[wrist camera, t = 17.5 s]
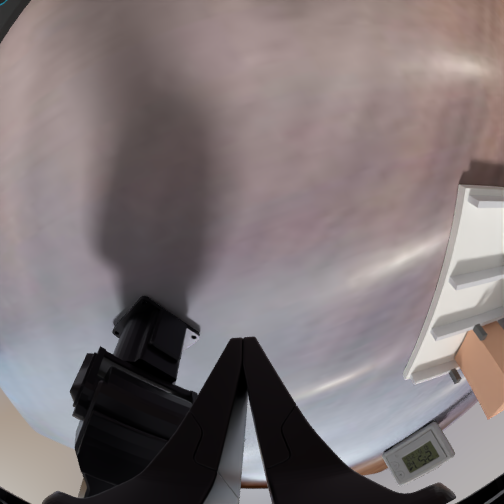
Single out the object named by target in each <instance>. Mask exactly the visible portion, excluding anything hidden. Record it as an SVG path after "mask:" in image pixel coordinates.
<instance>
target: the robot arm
mask: <svg viewBox="0 0 504 504" xmlns="http://www.w3.org/2000/svg"><path fill="white" fill-rule="evenodd" d="M143 301H145V302H146V303H145V302H143ZM112 332H113V334H114V335H115V336H117V337H118V338H120V339H119V341H118V343H117V346H116V348H115V351H114V353H113V354H111V353H109V352H107V351H106V349H104V348H102V347H101V346H100V348H99V350H98V352H97V353H94V354H90V353H87V355H86V357H85V359H84V361H83V364H82V366H81V368H80V370H79V372H78V374H77V377H76V379H75V381H74V383H73V385H72V388H71V390H70V394H71V396H72V399H73V401H74V403H73V407H75V408H74V411H73V414H72V416H73V417H75V418H77V419H80V422H79V425H78V428H77V431H76V438H75V451H76V455H77V458H78V462H79V466H80V470H81V472H82V474H83V477H84V478H83V481H82V485H81V488H80V492H79V495H78V498H76V497H73V496H70V495H68V494H65V493H63V492H60V491H56V492H54V493H53V494H51V495H50V496H48V497H47V498H45V500H44V501H43V502H42V504H239V498H240V497H239V496H240V486H241V475H242V463H243V451H244V439H245V427H246V414H247V402H248V397H249V402H250V407H251V412H252V416H253V421H254V426H255V431H256V435H257V440H258V444H259V449H260V454H261V458H262V462H263V467H264V471H265V476H266V480H267V484H268V488H269V492H270V497H271V500H272V504H446V503H448V502H450V501H452V500H454V499H455V498H456V496H455V494H454V493H453V492H452V491H451V490H450V489H449V488H447V487H446V486H444V485H443V484H442V483H436V484H433V485H430V486H428V487H426V488H423V489H421V490H419V491H416V492H413V493H407V494H403V493H397V492H395V491H392V490H390V489H388V488H386V487H383V486H382V485H380V484H378V483H376V482H374V481H372V480H370V479H368V478H366V477H364V476H362V475H360V474H359V473H357V472H355V471H354V470H352V469H351V468H350V467H348V466H347V465H346V464H345V463H344V462H343V461H342V460H341V459H340V458H339V457H338V456H337V455H336V454H335V453H334V452H333V451H332V450H331V449H330V447H329V446H328V445H327V444H326V443H325V442H324V441H323V440H322V439H321V438H320V436H319V435H318V434H317V433H316V432H315V430H314V429H313V428H312V427H311V426H310V424H309V423H308V421H307V420H306V419H305V417H304V416H303V414H302V413H301V411H300V409H299V408H298V406H296V403H295V402H294V400H293V399H292V397H291V395H290V394H289V392H288V390H287V389H286V387H285V386H284V384H283V382H282V381H281V379H280V377H279V376H278V374H277V372H276V371H275V369H274V368H273V366H272V364H271V363H270V361H269V359H268V358H267V356H266V354H265V353H264V351H263V349H262V347H261V346H260V344H259V342H258V341H257V339H256V338H255V337H244V338H231V339H230V341H229V342H228V344H227V346H226V348H225V349H224V351H223V353H222V355H221V356H220V358H219V360H218V362H217V363H216V365H215V367H214V369H213V370H212V372H211V374H210V375H209V377H208V379H207V381H206V382H205V384H204V386H203V387H202V389H201V391H200V393H199V394H198V395H197V393H196V392H193V391H188V390H186V389H183V388H181V387H179V386H176V385H175V382H176V379H177V373H178V368H179V362H180V359H181V354H182V352H183V351H184V350H186V349H187V348H188V347H190V346H191V345H192V344H194V343H195V342H196V341H198V340H199V336H200V334H199V332H197V331H196V330H194V329H193V328H191V327H190V326H188V325H187V324H185V323H184V322H182V321H181V320H180V319H178V318H177V317H175V316H174V315H172V314H171V313H169V312H168V311H167V310H165V309H164V308H162V307H161V306H159V305H158V304H157V303H155V302H154V301H153V300H151V299H150V298H148V297H147V296H142V297H141V298H140V299H139V300H138V301H137V302H136V303H135V304H134V306H133V307H132V308H131V309H130V310H129V311H128V312H127V313H126V314H125V316H124V317H123V318H122V319H121V320H120V321H119V322H118V324H117V325H116V326H115V327H114V329H113V331H112ZM193 335H194V336H193ZM0 504H31V503H29V502H27V501H25V500H23V499H22V498H20V497H17V496H16V495H14V494H12V493H10V492H9V491H7V490H5V489H4V488H2V487H0ZM455 504H504V473H503V474H502V475H500V476H499V477H497V478H496V479H494V480H493V481H491V482H490V483H488V484H487V485H485V486H484V487H482V488H481V489H479V490H477V491H476V492H474V493H473V494H471V495H470V496H468V497H466V498H464V499H463V500H461V501H459V502H457V503H455Z"/></svg>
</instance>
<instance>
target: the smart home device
mask: <svg viewBox="0 0 504 504" xmlns="http://www.w3.org/2000/svg"><path fill="white" fill-rule="evenodd" d="M30 1H31V0H0V43H1V41H2V40H3V38H4V37H5V35H6V34H7V32H8V31H9V29H10V28H11V26H12V25H13V23H14V22H15V21H16V19H17V18H18V16H19V15H20V14H21V12H22V11H23V10H24V8H25V7H26V6H27V5H28V3H29V2H30Z"/></svg>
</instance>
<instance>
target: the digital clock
mask: <svg viewBox="0 0 504 504" xmlns="http://www.w3.org/2000/svg"><path fill="white" fill-rule="evenodd" d="M454 455H455V452H454V450H453V449H452V447H451V445H450V443H449V442H448V440H447V438H446V437H445V435H444V433H443V432H442V430H441V428H440V427H439V425H438V424H437V423H436V422H432V423H430V424H429V425H427V426H426V427H424V428H421V429H420V430H418V431H417V432H415V433H414V434H412V435H411V436H409V437H408V438H406V439H405V440H403V441H401V442H400V443H398V444H397V445H395V446H393V447H392V448H391V449H390V450H388V451H386V452H385V453H383V455H382V457H383V459H384V461H385V463H386V465H387V466H388V468H389V470H390V472H391V473H392V475H393V477H394V479H395V481H396V482H397V484H398V485H399V486H403V485H405V484H407V483H409V482H411V481H413V480H416V479H417V478H420V477H421V476H423V475H425V474H427V473H429V472H431V471H432V470H434V469H436V468H437V467H439V466H441V465H442V464H444V463H445V462H447V461H449V460H450V459H452V458H453V457H454Z"/></svg>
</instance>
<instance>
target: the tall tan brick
mask: <svg viewBox="0 0 504 504" xmlns="http://www.w3.org/2000/svg"><path fill="white" fill-rule="evenodd" d="M482 328H483V329H484V330H485V332H486V333H487V334H488V335H487V337H486V338H485V340H482V341H480V339H479V338H478V337H477V335H476V334H475V332H474V331H473V330H470V331H468V333H467V335H466V337H465V339H464V341H463V343H462V345H461V347H460V349H459V351H458V352H457V354H456V356H455V358H454V359H455V360H456V362H457V364H458V365H459V367H460V369H461V370H462V372H463V374H464V376H465V377H466V379H467V381H468V383H469V385H470V386H471V388H472V390H473V392H474V394H475V395H476V397H477V399H478V401H479V403H480V405H481V407H482V409H483V411H484V413H485V415H486V417H487V419H490V418H492V417H493V416H495V415H497V414H498V413H500V412H502V411H503V410H504V329H503V328H502V327H501V326H500V324H499V323H498V322H497V321H494V322H492V323H489V324H486V325H484V326H482Z"/></svg>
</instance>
